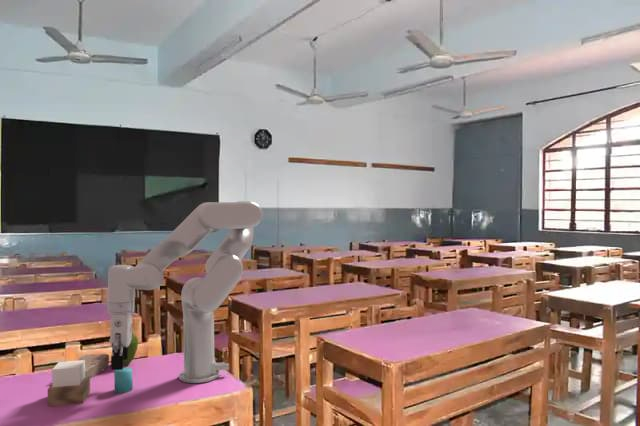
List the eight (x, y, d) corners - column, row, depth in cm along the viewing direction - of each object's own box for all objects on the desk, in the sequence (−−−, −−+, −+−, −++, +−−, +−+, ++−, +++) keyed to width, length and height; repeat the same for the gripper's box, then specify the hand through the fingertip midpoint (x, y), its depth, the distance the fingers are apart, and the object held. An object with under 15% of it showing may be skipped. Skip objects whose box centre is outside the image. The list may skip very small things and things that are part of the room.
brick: (84, 384, 156) (84, 369, 156) (58, 384, 157) (58, 369, 157) (110, 367, 173) (109, 353, 173) (86, 366, 173) (86, 353, 173)
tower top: (85, 376, 149) (84, 359, 149) (79, 385, 142) (79, 367, 142) (59, 378, 147) (59, 361, 147) (52, 387, 140) (52, 369, 140)
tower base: (90, 392, 150) (89, 375, 150) (83, 404, 141) (82, 386, 141) (57, 395, 148) (56, 378, 148) (47, 407, 139) (47, 389, 139)
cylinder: (133, 386, 154) (133, 366, 153) (131, 392, 149) (131, 372, 149) (116, 387, 152) (115, 368, 152) (113, 394, 148) (113, 373, 147)
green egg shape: (143, 361, 177) (142, 329, 177) (127, 369, 169) (126, 335, 169) (122, 359, 180) (122, 327, 179) (106, 367, 171) (105, 333, 171)
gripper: (130, 312, 142) (128, 373, 142) (137, 301, 159) (136, 355, 159) (102, 313, 141) (100, 374, 141) (112, 301, 157) (110, 356, 157)
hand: (119, 364), depth 150 cm, fingers open, 9 cm apart
